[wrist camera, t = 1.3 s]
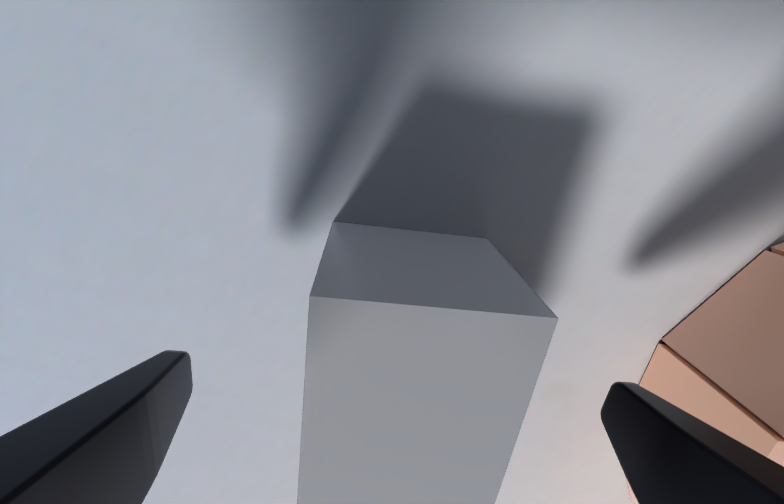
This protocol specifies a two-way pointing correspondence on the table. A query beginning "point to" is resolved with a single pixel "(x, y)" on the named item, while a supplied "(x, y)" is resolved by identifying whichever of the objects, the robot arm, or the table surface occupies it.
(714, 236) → the table surface
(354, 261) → the grey rectangular prism
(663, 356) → the bowl
